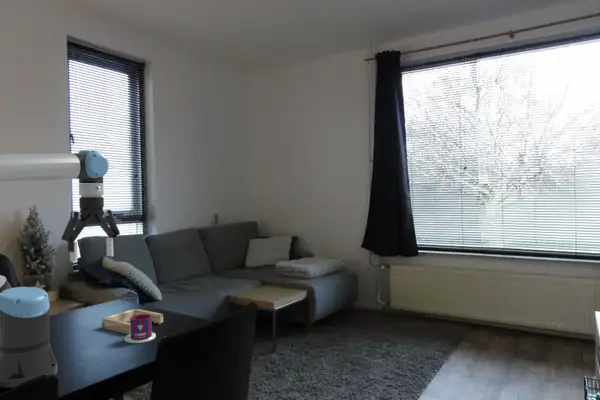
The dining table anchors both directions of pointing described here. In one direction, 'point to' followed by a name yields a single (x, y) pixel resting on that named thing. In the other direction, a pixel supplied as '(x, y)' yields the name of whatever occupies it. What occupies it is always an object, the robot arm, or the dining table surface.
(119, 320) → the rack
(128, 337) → the white round flat disc
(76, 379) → the dining table surface
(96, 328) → the dining table surface
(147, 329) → the mug
